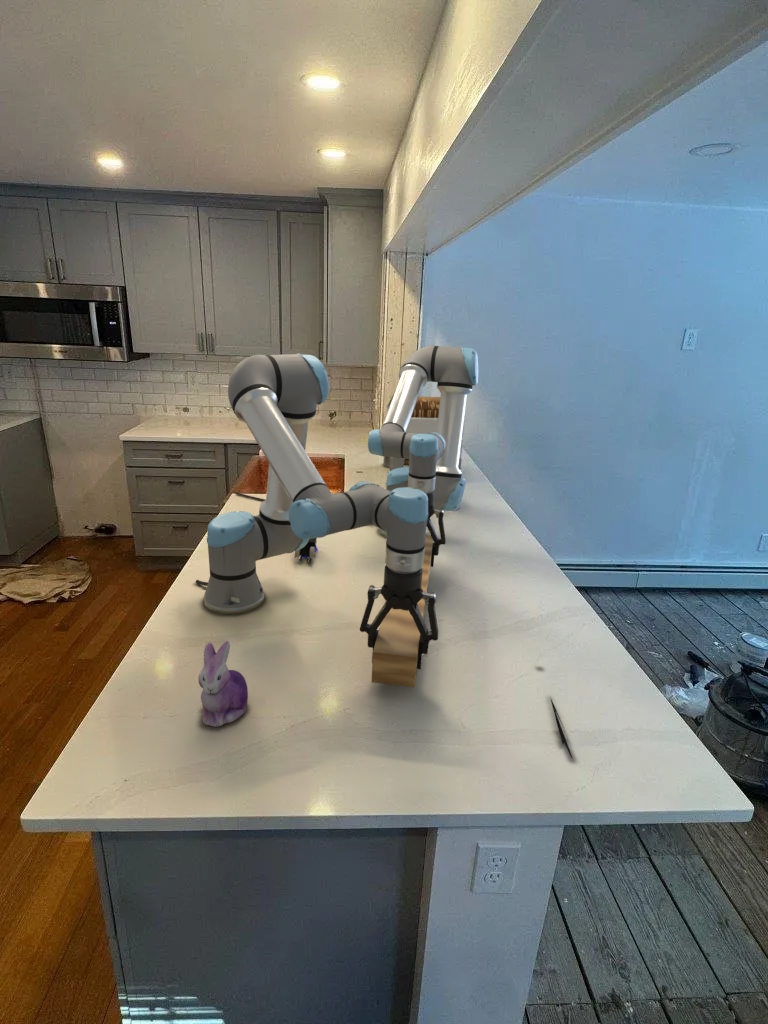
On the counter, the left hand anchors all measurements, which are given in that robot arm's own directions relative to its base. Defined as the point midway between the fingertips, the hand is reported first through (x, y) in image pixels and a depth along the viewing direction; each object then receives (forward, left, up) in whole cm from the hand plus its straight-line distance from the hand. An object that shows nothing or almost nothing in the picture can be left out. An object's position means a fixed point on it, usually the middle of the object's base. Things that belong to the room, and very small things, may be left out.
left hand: (396, 662), depth 120 cm
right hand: (-25, +43, 0) cm, 50 cm away
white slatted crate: (-88, +139, -5) cm, 164 cm away
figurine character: (-59, +33, -5) cm, 68 cm away
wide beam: (-12, +22, 0) cm, 25 cm away
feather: (+30, +13, -5) cm, 33 cm away
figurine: (-19, -30, -5) cm, 35 cm away
